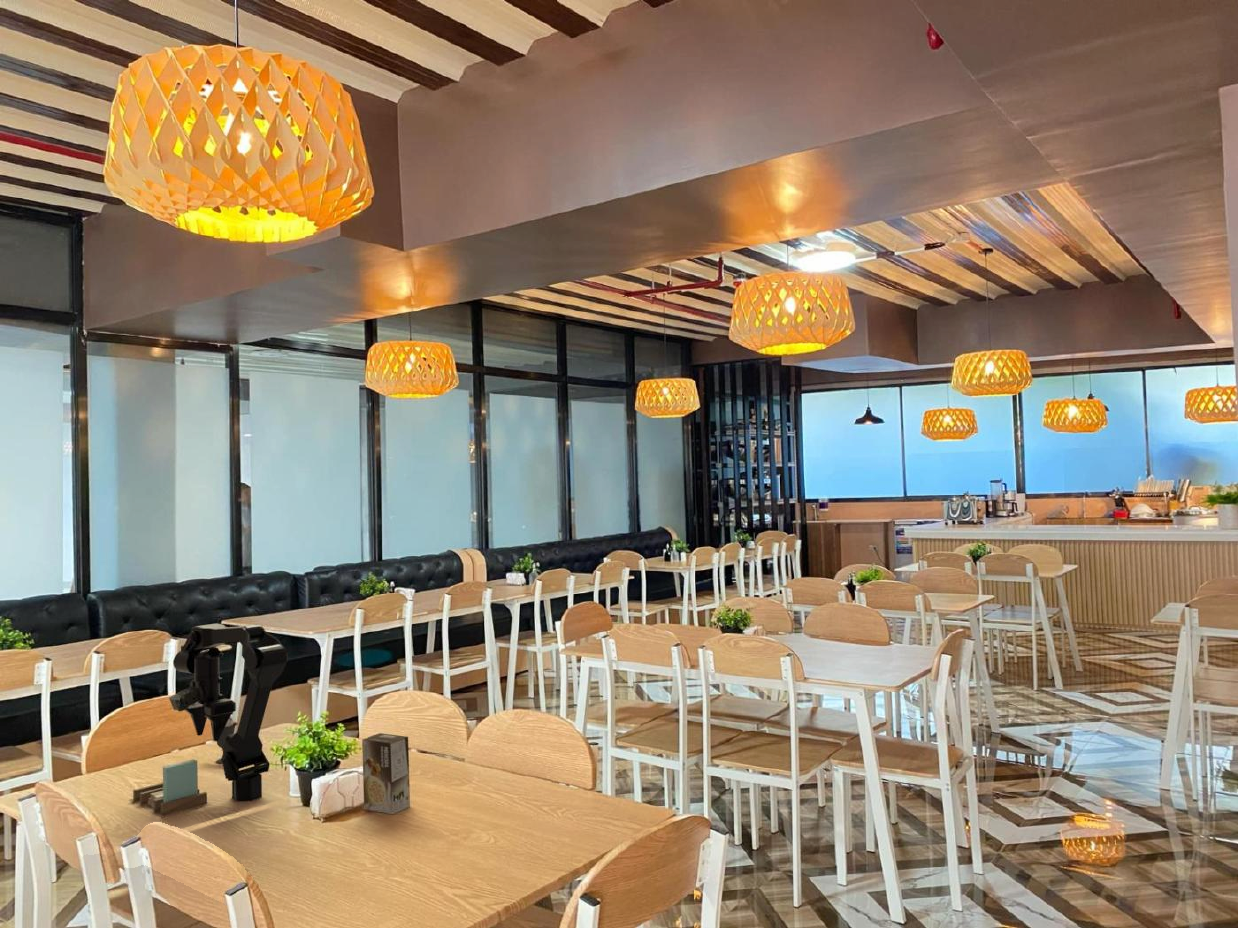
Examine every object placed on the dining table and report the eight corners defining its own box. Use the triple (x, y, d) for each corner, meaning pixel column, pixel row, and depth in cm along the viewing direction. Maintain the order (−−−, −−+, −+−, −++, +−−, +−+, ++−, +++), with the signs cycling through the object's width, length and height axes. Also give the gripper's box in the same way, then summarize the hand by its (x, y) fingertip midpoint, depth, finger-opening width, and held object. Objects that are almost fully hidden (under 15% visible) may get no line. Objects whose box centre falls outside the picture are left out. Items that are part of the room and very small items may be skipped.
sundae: (231, 764, 245) (231, 708, 245) (207, 764, 245) (207, 709, 245) (242, 756, 251) (241, 703, 252) (219, 757, 251) (218, 703, 252)
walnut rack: (212, 808, 209) (211, 793, 209) (163, 822, 201) (162, 806, 201) (176, 791, 222) (175, 777, 222) (128, 803, 214) (128, 789, 214)
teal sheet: (197, 803, 209) (197, 760, 210) (166, 812, 204) (166, 768, 205) (194, 801, 211) (193, 759, 211) (163, 810, 205) (162, 766, 206)
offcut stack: (192, 799, 213) (192, 788, 213) (156, 808, 207) (156, 798, 207) (183, 794, 216) (183, 784, 216) (147, 804, 210) (147, 793, 210)
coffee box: (411, 805, 206) (410, 736, 207) (392, 815, 201) (391, 743, 201) (381, 800, 211) (380, 732, 211) (362, 809, 205) (360, 739, 206)
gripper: (158, 676, 223) (158, 739, 223) (190, 685, 211) (191, 751, 210) (203, 669, 232) (203, 729, 231) (236, 677, 219) (237, 741, 219)
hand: (207, 737), depth 223 cm, fingers open, 9 cm apart
